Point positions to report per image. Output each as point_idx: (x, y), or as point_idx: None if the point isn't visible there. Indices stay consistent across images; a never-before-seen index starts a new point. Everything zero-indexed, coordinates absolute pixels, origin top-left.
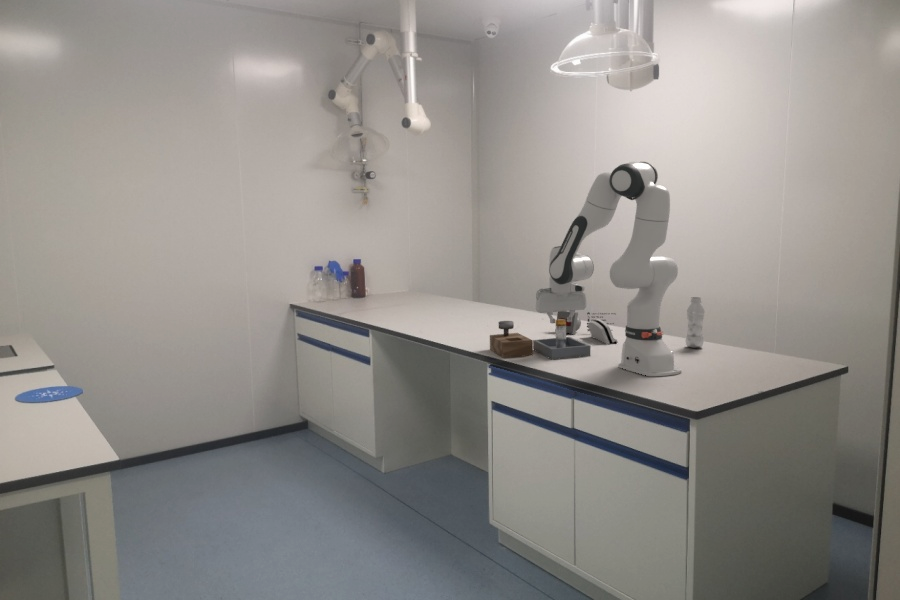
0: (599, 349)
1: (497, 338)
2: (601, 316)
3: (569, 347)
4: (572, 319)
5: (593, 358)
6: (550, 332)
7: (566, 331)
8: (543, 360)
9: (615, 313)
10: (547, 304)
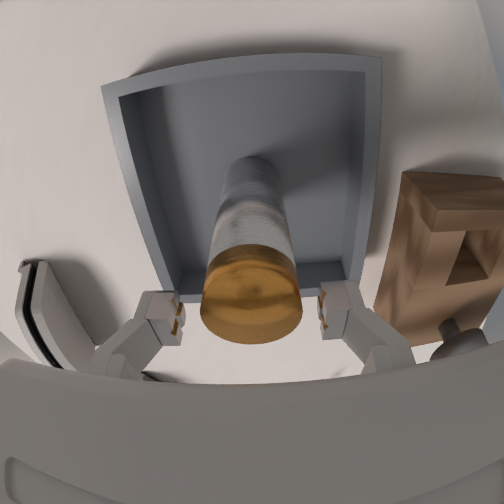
0: (69, 196)
1: (500, 285)
2: None
3: (248, 58)
4: None
5: (129, 25)
6: None
7: None
8: (402, 62)
9: None
10: (485, 441)
